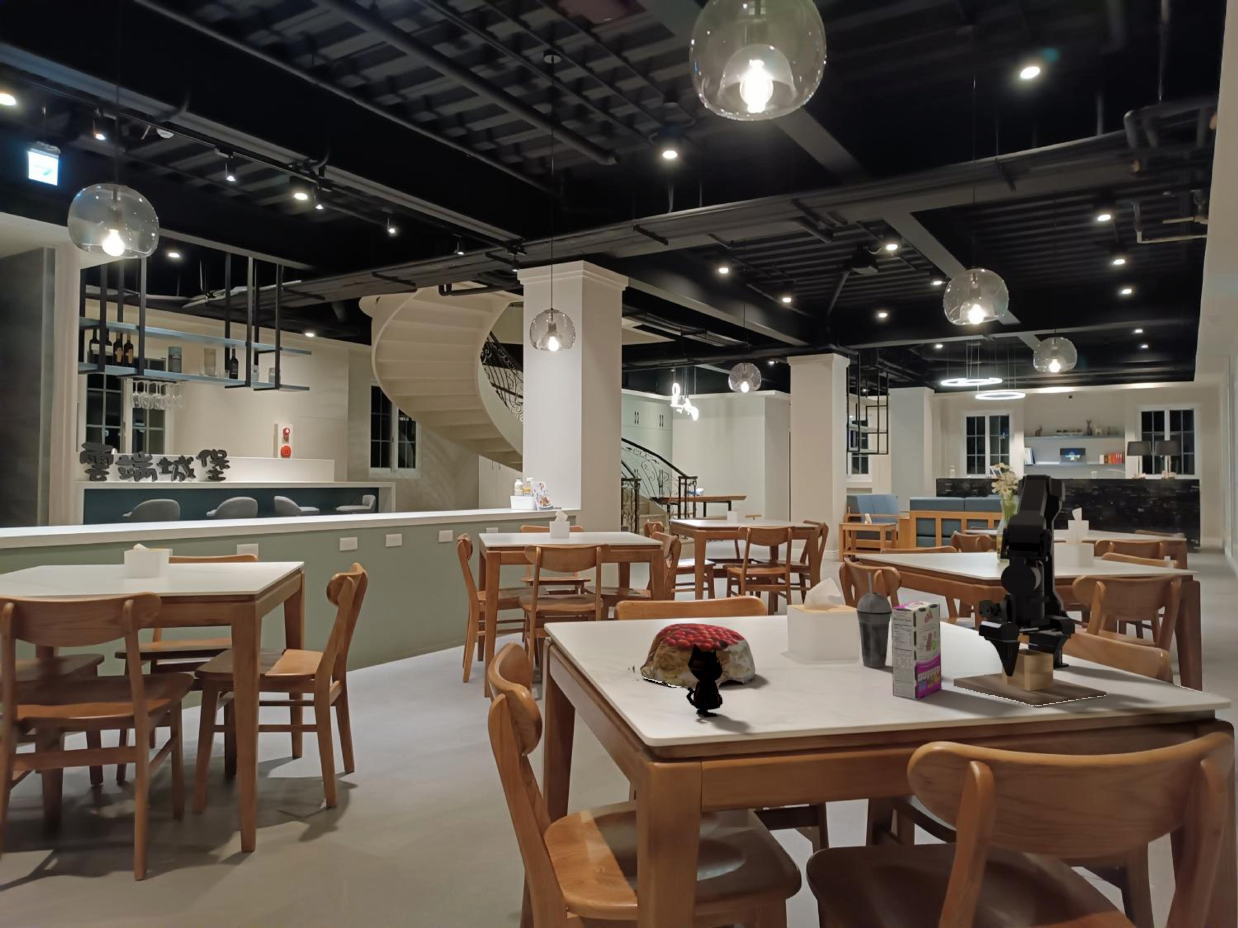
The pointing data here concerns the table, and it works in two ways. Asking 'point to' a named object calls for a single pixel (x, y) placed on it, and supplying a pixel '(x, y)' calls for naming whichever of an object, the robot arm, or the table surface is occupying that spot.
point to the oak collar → (1031, 670)
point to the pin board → (1057, 693)
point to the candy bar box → (916, 649)
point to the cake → (678, 643)
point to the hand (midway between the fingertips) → (1027, 673)
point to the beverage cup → (874, 627)
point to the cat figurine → (705, 681)
